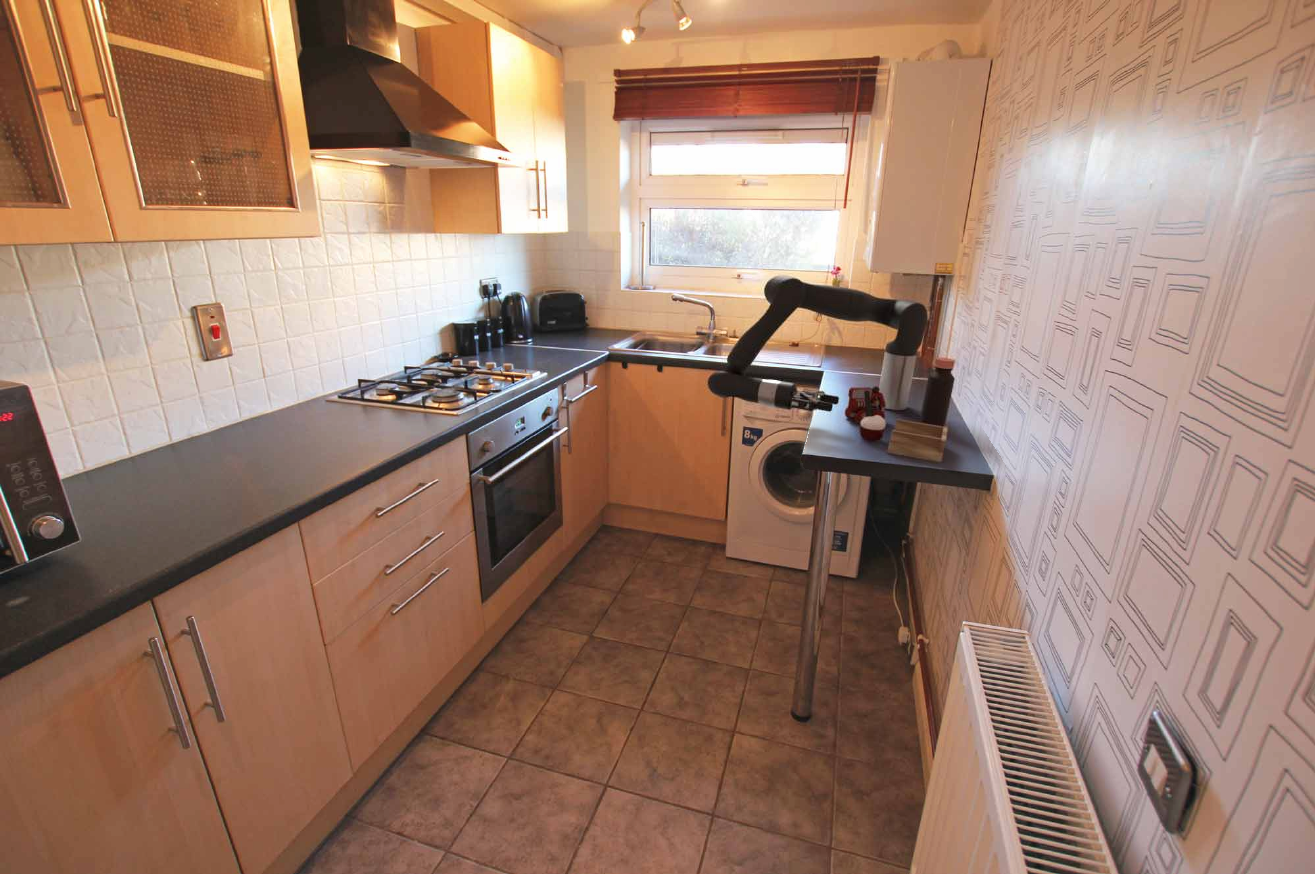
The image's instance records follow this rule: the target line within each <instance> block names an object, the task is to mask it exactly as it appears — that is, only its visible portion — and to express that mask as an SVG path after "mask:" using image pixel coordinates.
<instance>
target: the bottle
mask: <svg viewBox="0 0 1315 874" xmlns="http://www.w3.org/2000/svg"><path fill="white" fill-rule="evenodd" d="M955 362H956V360H955V359H953V358H947V357H936V358H935V361H934V371H932V372H930V374H929V375H928V377H927V383H926V387H925V393H924V397H923V402H922V408H921V413H920V417H919V422H918V423H924V424H930V425H936V426H942V427H944V426H946V422H947V417H948V412H949V409H950V402H951V398H952V393H953V390H954V385H955V380H956V379H955V376H954V375H953V374H952V371H953V370H954V367H955Z"/></svg>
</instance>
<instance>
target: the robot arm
mask: <svg viewBox="0 0 1315 874" xmlns="http://www.w3.org/2000/svg"><path fill="white" fill-rule="evenodd" d="M763 295H764V297H765V299H766V301H767V302H768V303H769V304H770V305H769V306H768V308H767V310H766V311H765V313H763V315H762V316H761V317H760V318H759V320H757V321H756V322H755V323H754V324H753V325H752V326H751V327H749V328H748V329H746V331H745V332H744V333H743V334H742V335H741V336H740V338H739V339H738V340H737V341H736V343H735V344H734V346H733V347H732V349H731V351H730V352H729V354H727V358H726V365H725V367H724V369H723V370H718V371H714V372H713V373H711V374H710V376H709V377H708V379H707V386H708V389H709V391H710V392H711V393H712V394H714V395H716V396H718V397H720V398H722V399H723V398H724V399H728V398H736V399H741V400H742V401H744V402H750V403H754V404H759V405H763V406H766V407H771V408H777V409H783V410H789V411H791V410H792V409H798V410H803V411H808V412H813V411H817V410H818V411H824V412H829V413H830V412H832V411H833V405H838V404H839V400H840V397H839V396H838V395H831V394H827V393H825V391H823V390H816V389H810V388H803V389H802V390H798V386H797V384H796V383H794V382H787V381H783V380H777V379H765V378H757V377H751V376H746V373H747V370H748V369H749V368H750V367H751V365H753V362H754V361H755V359H756V358H757V356H759V354H760V352H761V351H762V349H763V348H764V346H765V345H766V344H767V342H768V341H769V340H770V339H771V338H772V336H774V334H775V333H776V332H777V331H778V330H779V329H780V327H782V325H783V324H784V323H785V322H786V321H787V319H788V318H789V317H790V316H791V315H793V314H794V312H795V311H796V310H797V309H804V310H808V311H810V312H814V313H816V314H819V315H822V316H826V317H829V318H833V319H835V320H841V321H847V322H855V323H856V322H857V323H859V322H872V323H876V324H880V325H884V326H886V327H889V328H892V329H894V330H896V331H897V333H896V336H895V338H894V339H893V340H892V341H889V342H887V343H886V345H885V350H884V354H883V355H884V356H883V362H882V368H881V372H880V373H881V374H880V379H879V385H878V387H879V389H880V390H879V392H880V393H882V394H883V397H884V401H885V404H886V406H885V410H886V409H887V410H891V411H892V410H893V411H903V410H906V409H907V406H908V401H909V396H910V390H911V385H912V382H913V381H912V380H913V375H914V370H915V365H916V359H917V354H918V351H919V348H920V347H921V345H922V343H923V339H924V335H925V331H926V326H927V322H928V310H927V307H926V306H925V305H924V304H922V303H921V302H918V301H913V300H908V299H891V298H882V297H877V296H874V295H873V294H872V295H871V294H870V293H867V292H866V291H861V290H858V289H855V288H849V287H843V286H838V285H837V286H835V285H828V284H827V285H825V284H814V283H813V284H812V283H808V282H804V281H802V280H801V279H799V278H796V277H795V276H789V275H785V274H779V275H778V274H777V275H775V276H773V277H771V278H770V279H768V281H767V282H766V283H765V286H764V289H763Z"/></svg>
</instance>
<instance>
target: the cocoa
mask: <svg viewBox="0 0 1315 874" xmlns="http://www.w3.org/2000/svg"><path fill="white" fill-rule="evenodd" d="M864 395H865V411H866V417H865V418H864V419H863V420H862V421H861V424H859V435H860V437H861V438H862V439H863V440H865V441H869V442H877V441H880V440H881V439H883V437H884V432H885V428H886V425H887V422H886V420H885V419H883V418H882V417H881V416H879V415H875V416H873V417H871V402H870V391H869V390H867V391H864Z"/></svg>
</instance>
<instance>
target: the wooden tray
mask: <svg viewBox="0 0 1315 874" xmlns="http://www.w3.org/2000/svg"><path fill="white" fill-rule="evenodd" d="M894 426H895V427H894V429H892V430H891V432H890V438H889V443H888V448H887V452H886V453H888V454H894V455H898V456H903V455H904V456H903V457H908V456H909V458H913V457H914V459H919V460H924V461H931V462H935V463H942V460H943V456H944V451H945V446H946V441H947V436H948V428H949V426H947V425H945V426H944V427H942V426H936V425H930V424H924V423H919V422H918V421H912V420H905V419H899V418H897V419H896V421H895V425H894Z"/></svg>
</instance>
